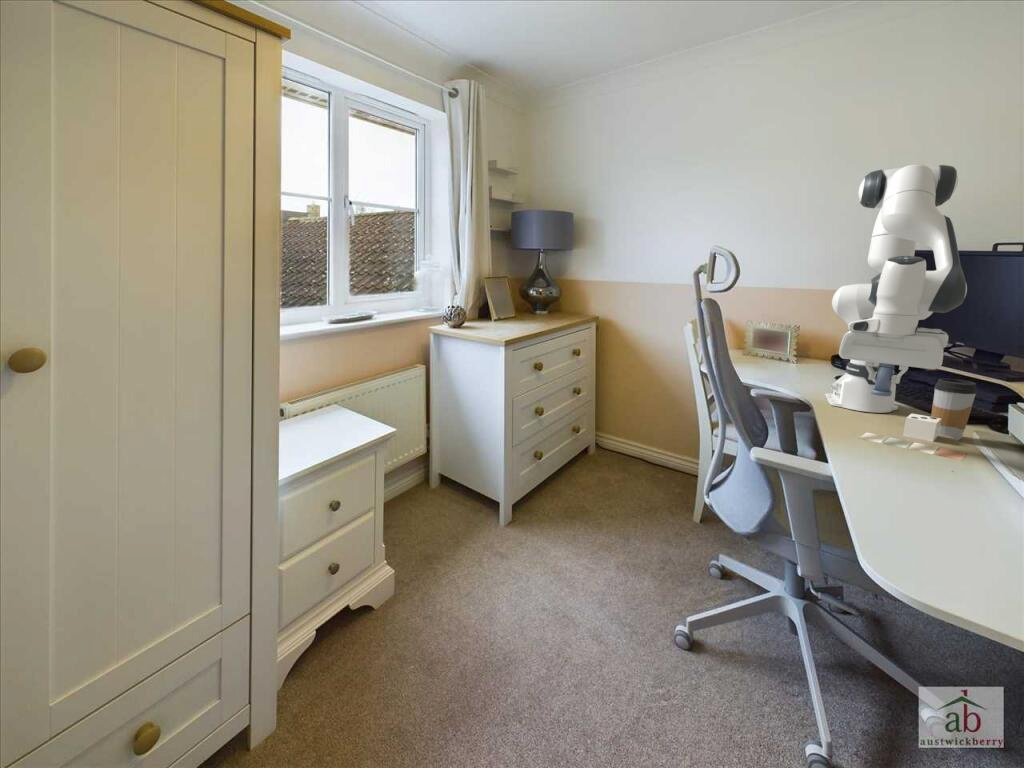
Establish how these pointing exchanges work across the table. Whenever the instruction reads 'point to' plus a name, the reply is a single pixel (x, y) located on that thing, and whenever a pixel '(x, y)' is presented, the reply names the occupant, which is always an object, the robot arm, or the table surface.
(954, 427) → the coffee cup
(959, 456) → the board
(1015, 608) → the table surface
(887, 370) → the pawn
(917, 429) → the die
